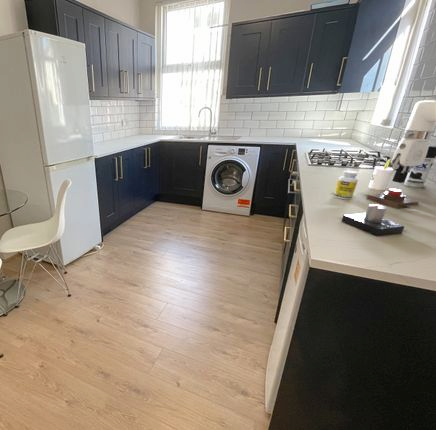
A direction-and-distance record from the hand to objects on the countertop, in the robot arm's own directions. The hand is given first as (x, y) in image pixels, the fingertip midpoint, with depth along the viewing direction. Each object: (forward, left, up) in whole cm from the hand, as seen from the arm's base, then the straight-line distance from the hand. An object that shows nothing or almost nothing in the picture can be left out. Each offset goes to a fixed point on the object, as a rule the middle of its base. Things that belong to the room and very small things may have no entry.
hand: (398, 181), depth 114 cm
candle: (+16, -13, -9) cm, 22 cm away
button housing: (0, 0, -9) cm, 9 cm away
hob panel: (-18, +33, -9) cm, 39 cm away
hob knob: (-18, +33, -7) cm, 38 cm away
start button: (0, 0, -5) cm, 6 cm away
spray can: (+16, -35, -9) cm, 40 cm away
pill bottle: (+10, +13, -9) cm, 19 cm away
